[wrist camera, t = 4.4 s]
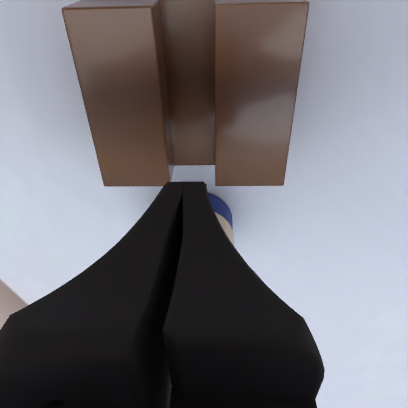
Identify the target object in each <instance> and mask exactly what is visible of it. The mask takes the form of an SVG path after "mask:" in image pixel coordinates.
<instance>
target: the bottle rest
mask: <svg viewBox="0 0 408 408" xmlns="http://www.w3.org/2000/svg"><path fill="white" fill-rule="evenodd" d="M308 9H309V2H308V1H306V0H81V1H78V2H76V3H73V4H71V5H68V6H66V7H63V8H62V14H63V18H64V22H65V26H66V30H67V35H68V39H69V43H70V47H71V51H72V55H73V59H74V64H75V68H76V72H77V76H78V80H79V84H80V88H81V92H82V97H83V101H84V105H85V109H86V113H87V117H88V121H89V125H90V130H91V134H92V138H93V142H94V146H95V150H96V154H97V159H98V163H99V167H100V171H101V175H102V179H103V183H104V186H164V185H165V184H166V183H167V182H171V179H172V173H173V168H174V165H215V185H216V186H283V185H284V179H285V171H286V164H287V157H288V150H289V143H290V136H291V129H292V122H293V115H294V108H295V101H296V94H297V87H298V80H299V73H300V66H301V59H302V52H303V45H304V37H305V30H306V23H307V16H308Z"/></svg>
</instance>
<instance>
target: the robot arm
mask: <svg viewBox="0 0 408 408" xmlns="http://www.w3.org/2000/svg"><path fill="white" fill-rule="evenodd" d="M323 378H324V366H323V362H322V359H321V356H320V353H319V350H318V348H317V345H316V343H315V340H314V338H313V336H312V334H311V332H310V330H309V328H308V326H307V324H306V322H305V320H304V318H303V317H301V316H300V315H299V314H298V313H297V312H295V311H294V310H293V309H292V308H290V307H289V306H288V305H287V304H286V303H285V302H284V301H282V300H281V299H280V298H279V297H278V296H277V295H276V294H275V293H274V292H273V291H272V290H271V289H270V288H269V287H268V286H267V285H266V284H265V283H264V282H263V281H262V280H261V279H260V278H259V277H258V276H257V274H256V273H255V272H254V271H253V270H252V269H251V268H250V267H249V266H248V264H247V263H246V262H245V261H244V259H243V258H242V257H241V255H240V254H239V253H238V251H237V250H236V249H235V247H234V246H233V244H232V243H231V241H230V240H229V238H228V236H227V235H226V233H225V231H224V230H223V228H222V226H221V224H220V222H219V220H218V218H217V216H216V214H215V212H214V210H213V208H212V205H211V202H210V200H209V197H208V193H207V188H206V184H205V183H204V182H167V183H166V184H165V185H164V187H163V188H162V190H161V191H160V193H159V194H158V196H157V197H156V198H155V200H154V201H153V203H152V204H151V205H150V207H149V208H148V209H147V210H146V212H145V213H144V214H143V215H142V217H141V218H140V219H139V220H138V221H137V223H136V224H135V225H134V226H133V227H132V228H131V229H130V230H129V231H128V233H127V234H126V235H125V236H124V237H123V238H122V239H121V240H120V241H119V242H118V243H117V244H116V245H115V246H114V247H112V248H111V249H110V250H109V251H108V252H107V253H106V254H105V255H104V256H102V257H101V258H100V259H99V260H97V261H96V262H95V263H93V264H92V265H91V266H90V267H88V268H87V269H86V270H84V271H83V272H82V273H80V274H79V275H77V276H76V277H75V278H73V279H72V280H70V281H69V282H67V283H66V284H64V285H62V286H61V287H59V288H58V289H56V290H55V291H53V292H51V293H50V294H48V295H46V296H45V297H43V298H41V299H39V300H37V301H35V302H34V303H32V304H30V305H28V306H27V307H25V308H23V309H21V310H19V311H17V312H15V313H14V314H11V315H10V316H9V318H8V319H7V321H6V322H5V324H4V325H3V327H2V328H1V330H0V408H317V405H316V401H315V399H316V396H317V394H318V391H319V389H320V386H321V383H322V381H323ZM171 385H172V386H171Z"/></svg>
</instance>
